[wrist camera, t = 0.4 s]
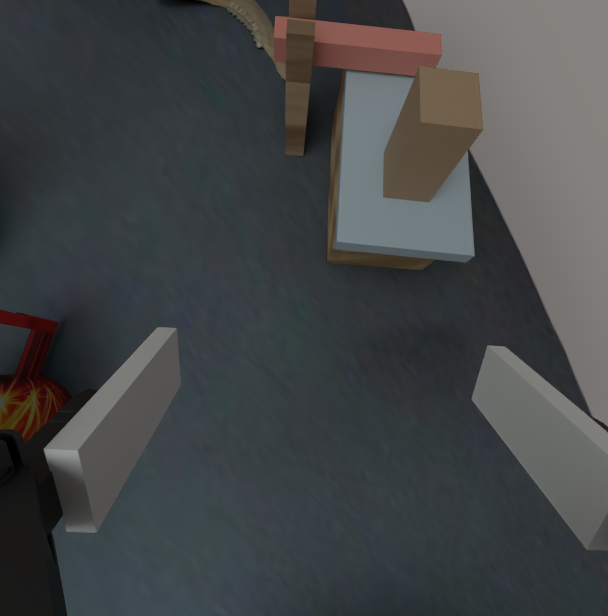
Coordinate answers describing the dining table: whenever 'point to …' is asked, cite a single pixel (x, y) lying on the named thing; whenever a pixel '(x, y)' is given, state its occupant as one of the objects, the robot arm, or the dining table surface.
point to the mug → (30, 380)
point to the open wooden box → (334, 254)
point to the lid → (407, 163)
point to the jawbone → (253, 25)
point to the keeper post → (298, 72)
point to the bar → (365, 47)
